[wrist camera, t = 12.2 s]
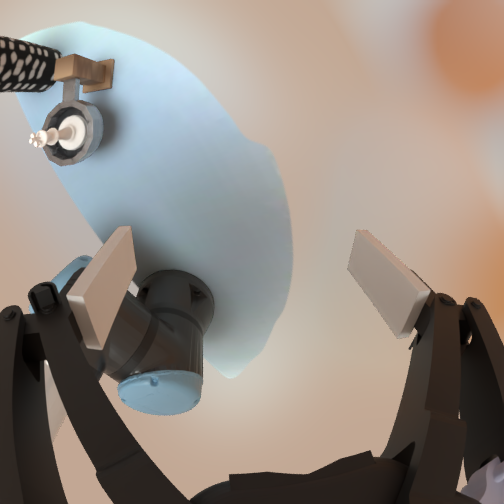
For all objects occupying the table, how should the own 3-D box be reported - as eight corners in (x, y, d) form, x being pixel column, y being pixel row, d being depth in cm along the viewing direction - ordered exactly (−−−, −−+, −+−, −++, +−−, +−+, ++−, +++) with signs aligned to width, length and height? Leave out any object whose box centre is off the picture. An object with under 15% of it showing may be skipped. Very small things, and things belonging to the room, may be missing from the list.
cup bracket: (104, 157, 31) (93, 162, 28) (55, 164, 30) (43, 168, 27) (106, 63, 25) (96, 59, 22) (56, 76, 24) (44, 74, 21)
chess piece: (68, 156, 29) (26, 172, 20) (55, 128, 27) (11, 137, 18) (93, 136, 29) (53, 145, 20) (79, 107, 26) (37, 108, 17)
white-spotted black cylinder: (33, 101, 29) (-45, 108, 12) (26, 67, 26) (-48, 63, 8) (67, 75, 29) (-11, 65, 11) (59, 40, 25) (-13, 20, 8)
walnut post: (111, 88, 32) (78, 80, 22) (85, 93, 31) (47, 89, 21) (114, 60, 30) (82, 44, 20) (87, 65, 29) (51, 54, 19)
